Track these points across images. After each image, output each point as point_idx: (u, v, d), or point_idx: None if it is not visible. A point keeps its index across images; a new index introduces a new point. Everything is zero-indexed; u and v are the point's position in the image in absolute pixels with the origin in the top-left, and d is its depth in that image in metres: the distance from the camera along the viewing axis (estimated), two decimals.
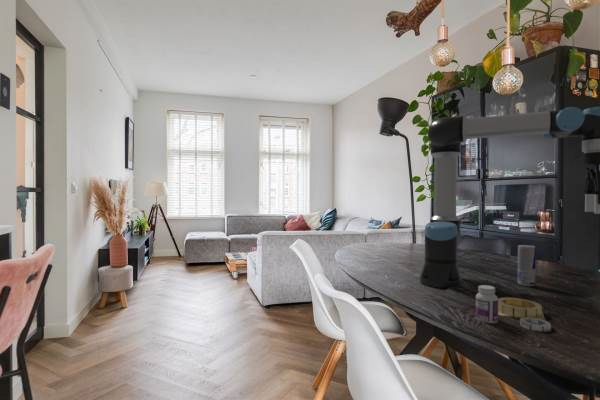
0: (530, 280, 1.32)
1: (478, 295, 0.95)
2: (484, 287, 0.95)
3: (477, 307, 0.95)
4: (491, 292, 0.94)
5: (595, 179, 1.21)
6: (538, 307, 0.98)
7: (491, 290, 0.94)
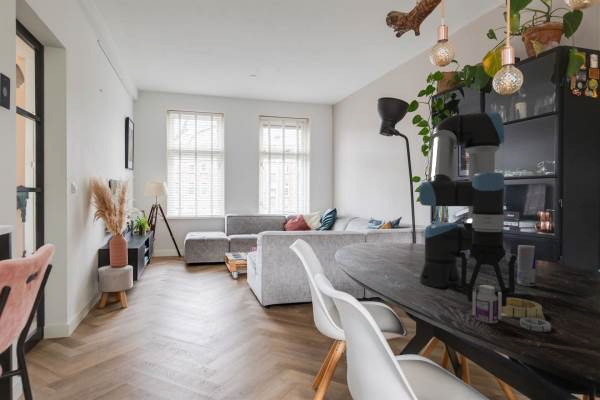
0: (530, 280, 1.32)
1: (478, 295, 0.95)
2: (484, 287, 0.95)
3: (477, 307, 0.95)
4: (491, 292, 0.94)
5: None
6: (538, 307, 0.98)
7: (491, 290, 0.94)
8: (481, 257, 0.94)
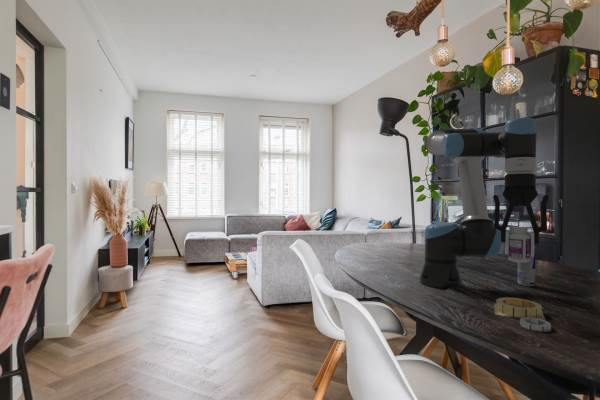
0: (530, 280, 1.32)
1: (511, 235, 1.01)
2: (517, 227, 1.00)
3: (510, 246, 1.01)
4: (524, 231, 0.99)
5: None
6: (538, 307, 0.98)
7: (524, 229, 0.99)
8: (514, 198, 1.00)
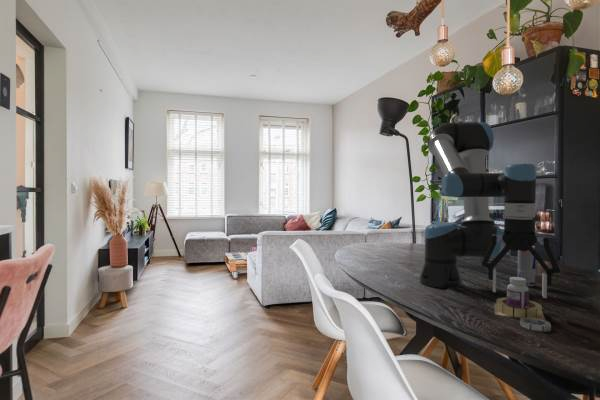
0: (530, 280, 1.32)
1: (510, 286, 1.01)
2: (515, 278, 1.01)
3: (509, 297, 1.01)
4: (522, 283, 0.99)
5: (500, 251, 1.04)
6: (538, 307, 0.98)
7: (522, 281, 0.99)
8: (512, 243, 1.00)
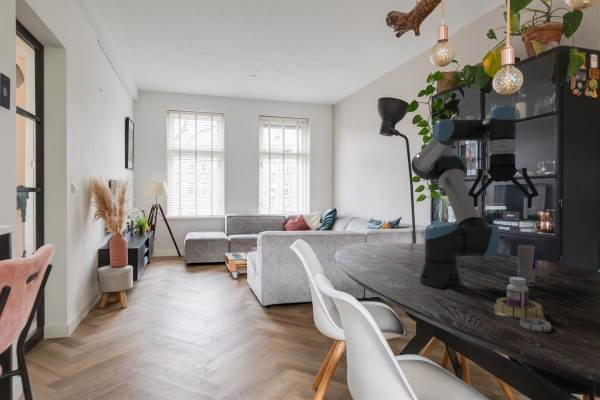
0: (530, 280, 1.32)
1: (510, 286, 1.01)
2: (515, 278, 1.01)
3: (509, 297, 1.01)
4: (522, 283, 0.99)
5: None
6: (538, 307, 0.98)
7: (522, 281, 0.99)
8: (496, 175, 1.17)
